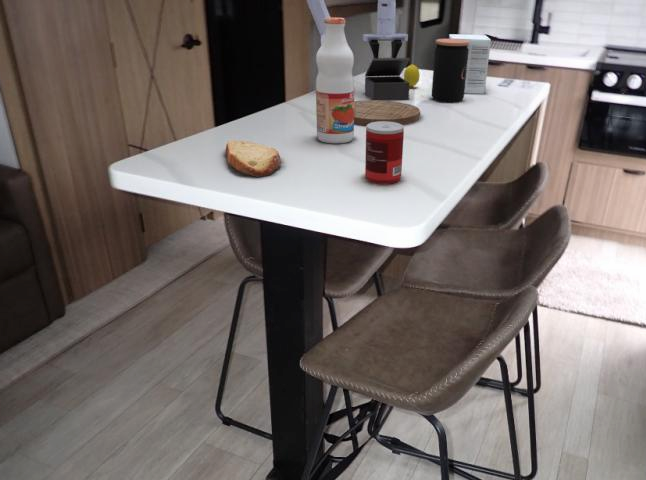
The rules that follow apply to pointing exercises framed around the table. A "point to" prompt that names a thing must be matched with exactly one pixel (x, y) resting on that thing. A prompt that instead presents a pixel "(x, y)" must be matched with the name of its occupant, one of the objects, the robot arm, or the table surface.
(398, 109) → the trivet
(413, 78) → the lemon
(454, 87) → the coffee jar
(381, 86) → the dark grey square box
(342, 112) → the fruit juice
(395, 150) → the canned food
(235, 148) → the bread slice
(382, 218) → the table surface
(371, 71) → the dark grey box lid
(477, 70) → the supplement box
